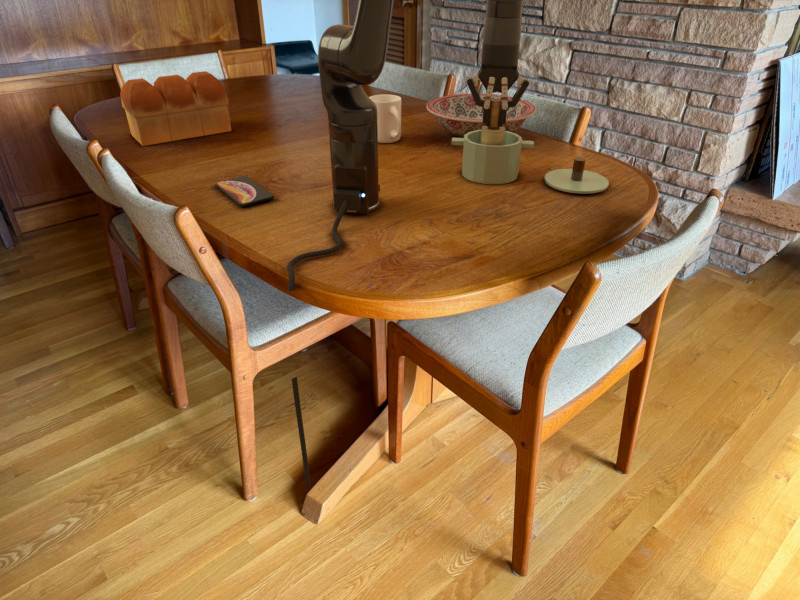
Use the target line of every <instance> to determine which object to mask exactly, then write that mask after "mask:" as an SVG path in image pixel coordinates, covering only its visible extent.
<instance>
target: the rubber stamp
mask: <svg viewBox="0 0 800 600" xmlns="http://www.w3.org/2000/svg"><path fill="white" fill-rule="evenodd" d="M501 102H502V100H500V99H491V101H490V115H489V126H483V127H482V130H481V143H480V144H483V145H495V146H500V145H504V137H505V127H503V126H502V127H499V121H500V110H501Z"/></svg>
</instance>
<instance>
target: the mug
mask: <svg viewBox="0 0 800 600" xmlns="http://www.w3.org/2000/svg"><path fill="white" fill-rule="evenodd" d="M368 97H369V98H370V99H371V100H372V101H373V102H374V103H375V104H376V106H377V124H378V144H392V143H396V142H398V141H400V139H401V137H402V97H401V96H399V95H397V94H396V95H395V94H374V95H371V96H368Z"/></svg>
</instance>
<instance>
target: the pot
mask: <svg viewBox="0 0 800 600" xmlns="http://www.w3.org/2000/svg"><path fill="white" fill-rule="evenodd" d="M480 143H481V130H476V131H472V132H468V133H467V134H465V135H464V137H452V138H451V146H462V161H461V162H462V163H461V175H462V176H463V178H465V179H466V180H468V181H471V182H473V183H479V184H483V185H503V184H508V183H511V182H514V181H515V180H517V179H518V176H519V170H520V163H521V154H522V149H534V148H535V142H534V140H523V138H522V136H520V135H519V134H517V133H515V132H509V131H505V137H504V145H500V146H495V145H483V144H480Z"/></svg>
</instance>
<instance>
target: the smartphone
mask: <svg viewBox="0 0 800 600" xmlns="http://www.w3.org/2000/svg"><path fill="white" fill-rule="evenodd" d="M215 187H216V188H217V189H218V190H220V191H221V192H222V193H223V194H225V195H226V196H227V197H228V198H230V200H232V201H233V202H234V203H236V204H237V205H238V206H239V207H241V208H242V207H243V208H244V207H245V208H247V207H249V206H253V205H256V204H260V203H263V202H269V201H271V200H273V199H274V194H272V193H270V192H269V191H268V190H267V189H265V188H263V187H262V186H261V185H259V184H258V183H257V182H255V181H254V180H252V179H251V178H249V177H248V176H246V175H242V176H237V177H233V178H230V179H225V180H221V181H218V182H216V183H215Z"/></svg>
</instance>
